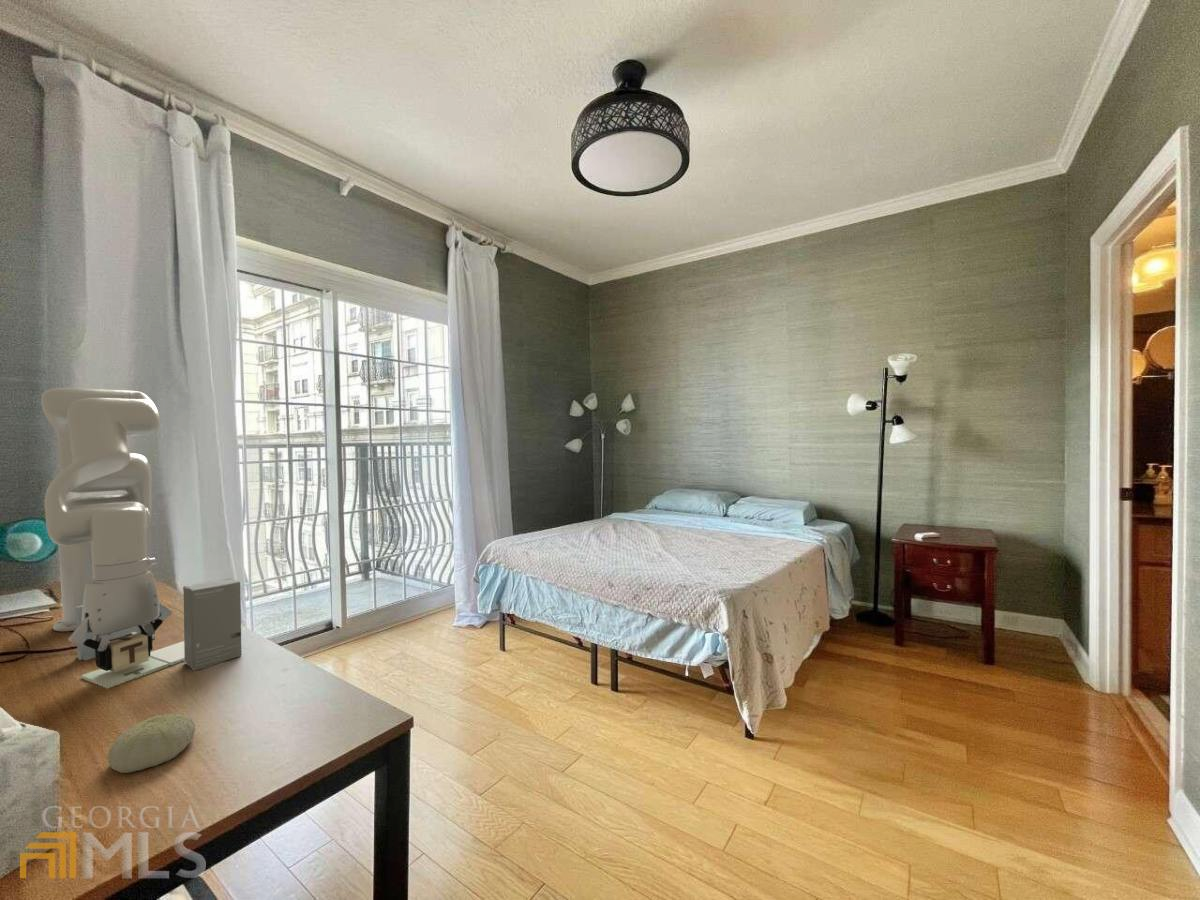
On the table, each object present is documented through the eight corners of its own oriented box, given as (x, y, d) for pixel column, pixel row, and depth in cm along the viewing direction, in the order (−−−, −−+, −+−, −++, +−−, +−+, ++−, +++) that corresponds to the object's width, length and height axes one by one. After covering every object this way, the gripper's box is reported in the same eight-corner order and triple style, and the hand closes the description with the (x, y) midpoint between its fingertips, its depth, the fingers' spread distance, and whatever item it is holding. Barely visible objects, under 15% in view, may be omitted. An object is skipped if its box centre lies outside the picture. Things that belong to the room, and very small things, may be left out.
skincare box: (192, 672, 92) (189, 591, 92) (183, 662, 97) (179, 585, 96) (245, 655, 99) (242, 580, 99) (233, 647, 103) (230, 575, 103)
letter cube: (101, 667, 91) (100, 640, 91) (135, 656, 96) (134, 630, 96) (115, 672, 89) (114, 645, 89) (149, 660, 94) (148, 634, 94)
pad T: (81, 678, 91) (81, 674, 91) (142, 657, 99) (142, 654, 99) (107, 688, 87) (107, 684, 87) (168, 666, 95) (168, 662, 95)
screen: (75, 658, 99) (72, 606, 99) (148, 635, 110) (146, 588, 110) (83, 661, 98) (80, 608, 97) (156, 638, 109) (154, 590, 108)
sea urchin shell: (215, 718, 74) (183, 702, 68) (187, 779, 68) (149, 768, 63) (154, 720, 73) (117, 705, 68) (121, 781, 68) (77, 771, 62)
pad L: (145, 656, 99) (145, 653, 99) (196, 639, 108) (196, 636, 108) (171, 665, 95) (171, 661, 95) (222, 646, 103) (222, 643, 103)
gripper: (165, 557, 101) (168, 641, 102) (48, 580, 86) (53, 679, 86) (184, 561, 98) (188, 647, 99) (67, 585, 83) (72, 687, 83)
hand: (125, 661), depth 93 cm, fingers closed on letter cube, 5 cm apart
